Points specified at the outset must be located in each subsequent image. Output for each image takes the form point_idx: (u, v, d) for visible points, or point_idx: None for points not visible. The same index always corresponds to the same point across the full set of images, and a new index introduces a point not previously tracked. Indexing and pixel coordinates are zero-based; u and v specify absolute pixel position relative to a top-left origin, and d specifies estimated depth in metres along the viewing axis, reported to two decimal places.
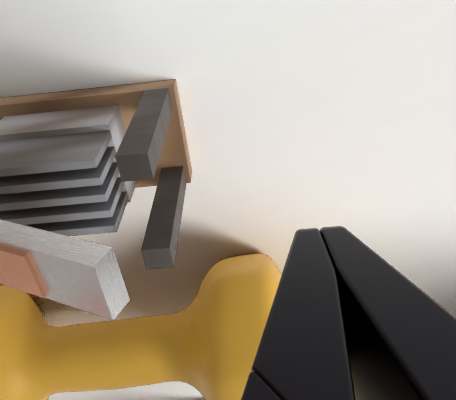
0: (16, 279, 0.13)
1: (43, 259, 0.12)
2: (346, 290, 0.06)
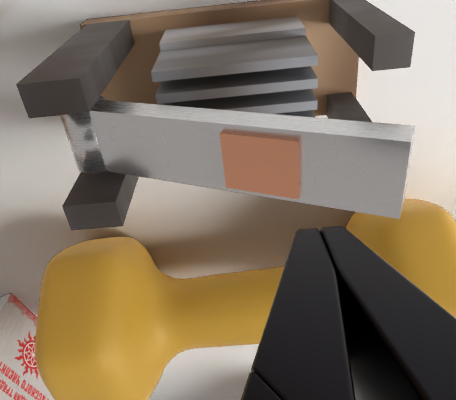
0: (264, 177, 0.11)
1: (324, 143, 0.10)
2: (346, 290, 0.06)
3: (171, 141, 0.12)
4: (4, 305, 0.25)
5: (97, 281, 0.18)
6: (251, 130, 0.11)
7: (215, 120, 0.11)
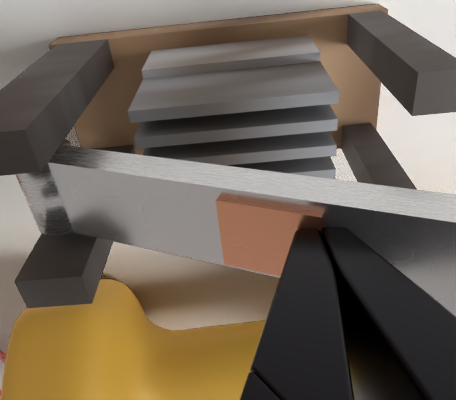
0: (275, 257, 0.08)
1: (357, 220, 0.07)
2: (348, 290, 0.06)
3: (152, 204, 0.09)
4: None
5: (71, 344, 0.16)
6: (258, 197, 0.08)
7: (209, 181, 0.08)
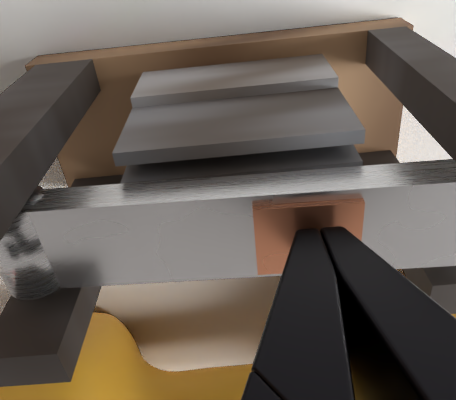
0: None
1: (395, 197, 0.08)
2: (346, 290, 0.06)
3: (172, 231, 0.08)
4: None
5: (56, 398, 0.14)
6: (297, 197, 0.08)
7: (238, 192, 0.08)
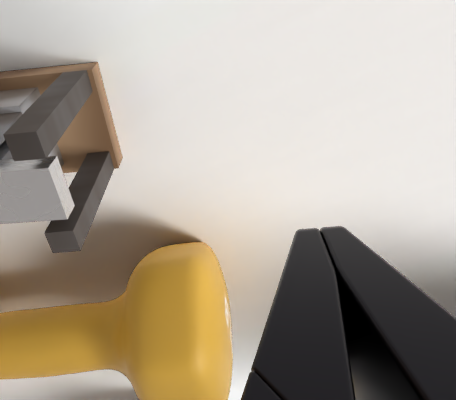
0: None
1: None
2: (346, 290, 0.06)
3: None
4: None
5: None
6: None
7: None
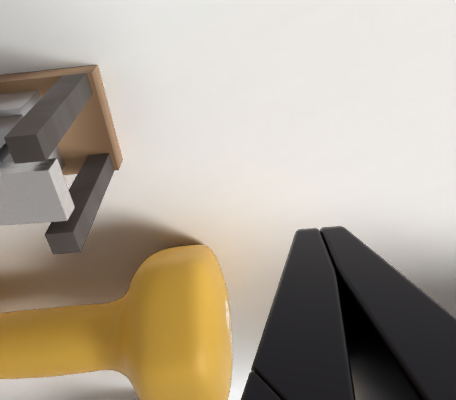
0: None
1: None
2: (346, 290, 0.06)
3: None
4: None
5: None
6: None
7: None
